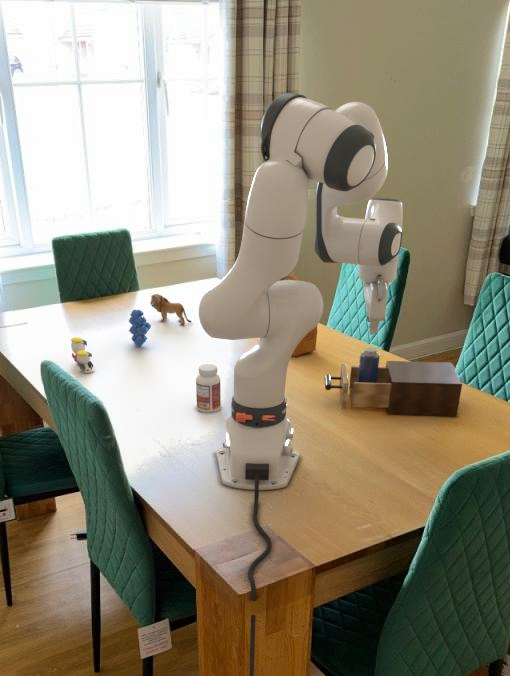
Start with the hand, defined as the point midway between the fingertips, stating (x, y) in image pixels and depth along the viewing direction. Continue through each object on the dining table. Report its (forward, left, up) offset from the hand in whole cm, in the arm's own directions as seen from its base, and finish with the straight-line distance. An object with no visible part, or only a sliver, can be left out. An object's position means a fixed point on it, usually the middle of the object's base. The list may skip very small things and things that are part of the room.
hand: (371, 327), depth 183 cm
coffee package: (+39, +18, -20) cm, 47 cm away
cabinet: (0, -14, -20) cm, 24 cm away
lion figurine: (+64, +61, -20) cm, 91 cm away
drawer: (0, 0, -19) cm, 19 cm away
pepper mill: (0, 0, -18) cm, 18 cm away
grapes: (+39, +66, -20) cm, 79 cm away
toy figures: (+19, +80, -20) cm, 85 cm away
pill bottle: (-7, +40, -20) cm, 45 cm away
